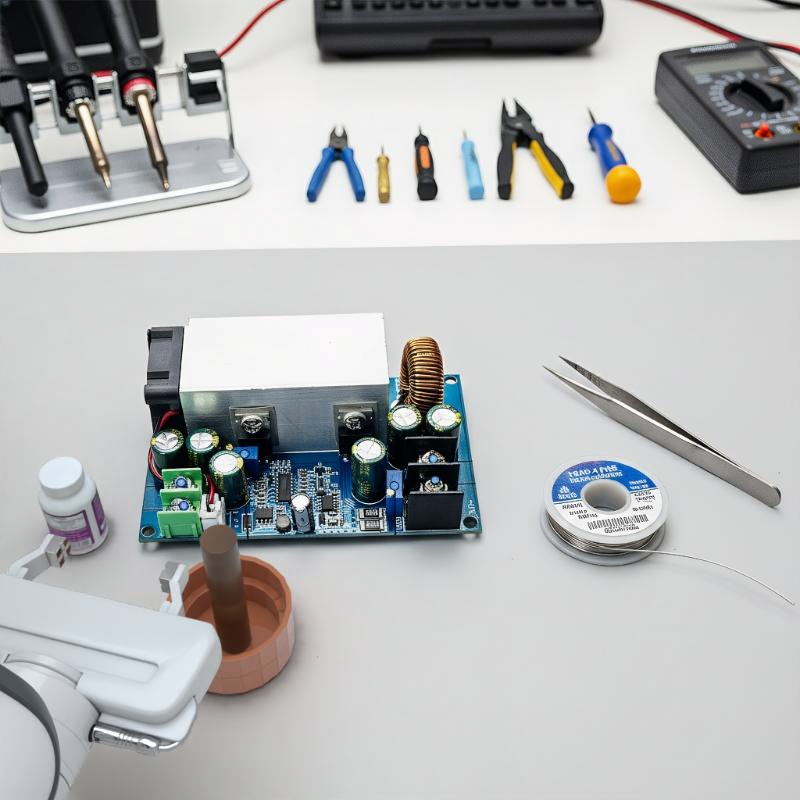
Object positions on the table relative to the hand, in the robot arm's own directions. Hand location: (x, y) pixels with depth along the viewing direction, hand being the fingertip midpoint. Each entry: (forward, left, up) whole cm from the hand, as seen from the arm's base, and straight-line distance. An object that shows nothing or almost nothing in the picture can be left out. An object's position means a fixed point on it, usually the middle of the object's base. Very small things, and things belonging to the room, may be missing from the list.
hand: (119, 553), depth 73 cm
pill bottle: (-2, +20, -20) cm, 28 cm away
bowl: (+8, +2, -20) cm, 21 cm away
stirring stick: (+8, +2, -19) cm, 21 cm away
